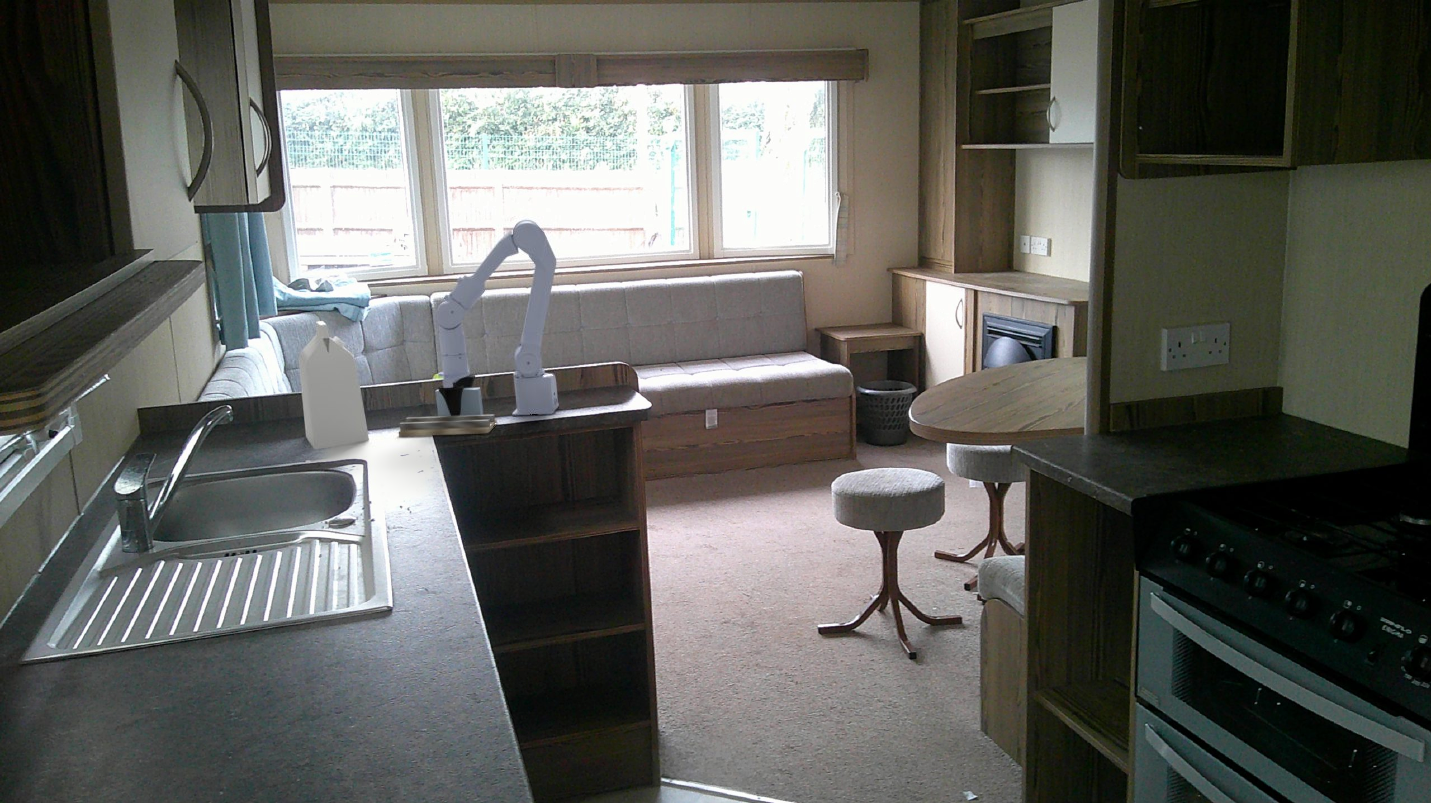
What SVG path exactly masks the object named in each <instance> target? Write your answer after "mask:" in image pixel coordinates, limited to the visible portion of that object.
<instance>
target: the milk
mask: <svg viewBox="0 0 1431 803" xmlns="http://www.w3.org/2000/svg"><path fill="white" fill-rule="evenodd" d="M315 325H316V326H315V327H316V333H315V335H314V336H313V338H311V340H310V341H309V342H308V343H307V344H306V346H305V347H304V348H302V350H301V352H300V354H299V355H298V366H299V367H298V368H299V378H300V387H301V388H300V389H301V399H302V409H303V418H304V428H305V438H306V439H307V440H308V443H309V444H310V445H311V447H312V448H313V450H319V449H326V448H331V447H337V446H344V445H348V444H349V445H351V444H354V443H360V442H361V443H362V442H367V441H370V438H369V432H368V426H367V420H366V414H365V408H364V402H363V397H362V390H361V386H360V385H361V384H360V380H359V378H360V377H359V374H358V368H357V363H356V362H357V361H356V358H355V354H354V353H351V352H350V351H349V349H347V348H345V346H346V345H347V343H346V342H345V341H343V340H342V339H341V338H339V336H337V335H335V336H334V337H333V338H332V337H330V334H329V333H330V332H329V328H328V324H327V323H325V322H324V321H323V320H319V321H315Z"/></svg>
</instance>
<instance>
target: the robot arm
mask: <svg viewBox="0 0 1431 803" xmlns="http://www.w3.org/2000/svg"><path fill="white" fill-rule="evenodd" d="M495 244H496V245H494V247H493V248H492V249H491V251H489V253H488V254H487V256H486V257H485V259H484V260H483V261H482V262H481V264H480V265H479V267H477V269H476V270H475V271H474V273H470V274H469V273H467V274H464V276H462V277H461V276H460V277H458V279H457V280H456V283H457V284H456V285H455V287H454V288H453V289H452V290H451V291H450V293H449V294H445V295H444V296H443V299H444V300H445V301H443V302H441V303H440V304H439V305H438V306H437V309H436V312H435V319H436V321H437V323H438V332H439V334H438V339H439V347H440V355H441V356H440V357H441V364H442V365H441V366H442V371H440V372H438V373H437V376H438V377H441V378H442V384H441V385H438V389H437V390H439V392H440V393H441V394H442V396H443V398H444V399H445V402H446V404H447V407H448V410H449V412H450V415H451V416H459V415H460V414H461V397H462V392H463V389H464V388H473V386H474V381H475V380H476V375H475V374H471V372H470V366H469V364H468V353H467V345H466V344H467V343H466V335H465V332H464V328H463V319H464V318H463V317H464V314H465V313H468V312H469V311H470V310H471V309H472V307H474V305H475V304H476V303H477V302H478V301H479V299H480V298H481V297H482V296H483V295H484V293H485V292H486V285H485V284H486V281H487V280H488V279H489V278H490V277H491V276H492V275H493V273H495V271H496V270H498V267H500V265H501V264H502V263H503V262H504V261H505V260H506V259H507V258H508V257H510V256H514V255H518V254H519V253H520V251H519V249H520V250H521V251H522V252H524V254H527V255H528V257H529V258H530V260H531V262H533V264H534V266H535V267H534V271H533V277H532V281H531V282H532V283H531V288H530V291H529V292H530V293H529V297H528V303H527V309H526V314H525V319H524V324H523V328H522V333H521V336H520V341H519V344H518V345H517V346H516V348H515V350H514V352H513V359H514V360H513V364H514V368H515V371H514V372H513V373H512V375H513V383H514V384H513V385H514V392H515V393H514V394H515V401H516V404H515V405H516V409H515V410H514V411H513V412H512V416H532V414H538V415H553V414H554V412H555V411H556V410H557V409H558V407H559V406H560V404H559V401H558V400H559V399H558V397H559V396H558V387H557V386H558V385H557V380H556V375H555V374H554V373H548V372H546V371H545V369H544V368H543V367H542V366H543V359H542V354H541V351H542V350H541V348H542V344H543V343H542V340H543V334H544V330H545V329H544V328H545V325H546V319H547V318H546V317H547V313H548V308H549V304H550V298H551V293H552V288H553V283H554V277H555V274H556V268H557V259H556V256H555V254H554V251H553V249H552V247H551V245H550V242H549V240H548V238H547V235H546V234H545V232H544V230H543V229H542V228H541V227H540V225H538V224H537V223H536V222H535V221H533V220H531V219H522V220H520V221H518V222H517V223H516V224H515V225H514V226H513V229H510V230H509V231H508V232H507V233H506V234H504V236H503V237H501V239H499V241H498V242H497V243H495ZM530 414H531V415H530Z"/></svg>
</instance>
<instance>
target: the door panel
mask: <svg viewBox="0 0 1431 803" xmlns="http://www.w3.org/2000/svg"><path fill="white" fill-rule="evenodd" d="M434 393H435V401H436V407H437V408H436V409H437V416H451V415H450V412H449V410H448V407H447V404H446V402H445V399H444V398H443V396H442V394H441V393H440V392H439V390H438V389H436V390H435V392H434ZM482 401H483V400H482V391H481V387H472V388H464V389H463V392H462V397H461V414H460V415H459V416H463V415H484V408H483V402H482Z"/></svg>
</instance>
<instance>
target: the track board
mask: <svg viewBox="0 0 1431 803" xmlns="http://www.w3.org/2000/svg"><path fill="white" fill-rule="evenodd" d="M495 423H497V424H498V421H497V418H496V417H495V414H483V415H463V416H438V415H437V416H413V417H412V416H411V417H409V416H408V417H406V418H405V422H400V423H399V431H398V432H397V433H398V437H417V436H419V437H420V436H445V435H474V434H475V435H476V434H477V435H479V434H488V433H490V432H491V431H492V429H494V427H495V426H496V425H495ZM494 425H495V426H494ZM493 426H494V427H493Z"/></svg>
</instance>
